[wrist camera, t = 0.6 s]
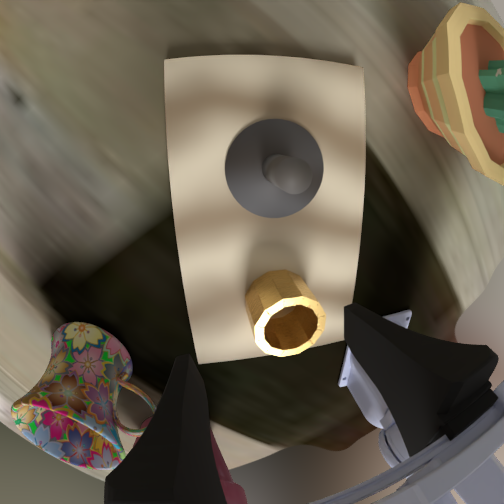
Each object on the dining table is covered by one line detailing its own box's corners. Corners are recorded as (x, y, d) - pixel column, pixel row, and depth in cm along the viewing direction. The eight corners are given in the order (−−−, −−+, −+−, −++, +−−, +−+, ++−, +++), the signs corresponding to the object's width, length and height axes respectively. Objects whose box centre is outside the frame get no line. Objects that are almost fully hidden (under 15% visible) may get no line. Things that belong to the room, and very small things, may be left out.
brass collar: (304, 319, 24) (321, 348, 20) (246, 328, 23) (256, 360, 19) (308, 266, 22) (328, 292, 18) (243, 274, 21) (253, 303, 17)
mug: (72, 382, 24) (49, 461, 14) (38, 313, 20) (-11, 394, 11) (174, 382, 26) (175, 475, 16) (153, 307, 22) (135, 412, 12)
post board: (340, 332, 27) (363, 366, 22) (197, 355, 25) (200, 397, 20) (355, 70, 17) (394, 57, 13) (166, 64, 15) (155, 39, 11)
